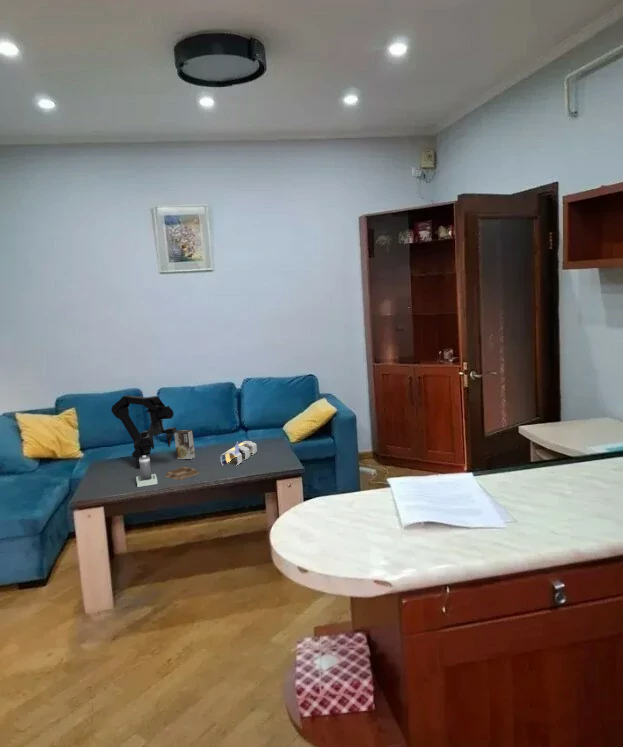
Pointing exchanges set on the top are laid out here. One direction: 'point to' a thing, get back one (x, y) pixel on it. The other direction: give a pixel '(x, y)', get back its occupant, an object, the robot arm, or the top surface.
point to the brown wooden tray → (181, 473)
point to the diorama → (239, 452)
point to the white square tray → (146, 481)
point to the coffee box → (184, 444)
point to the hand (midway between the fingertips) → (161, 447)
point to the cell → (145, 468)
